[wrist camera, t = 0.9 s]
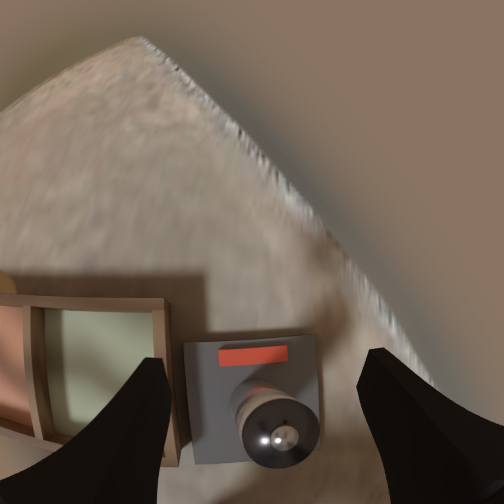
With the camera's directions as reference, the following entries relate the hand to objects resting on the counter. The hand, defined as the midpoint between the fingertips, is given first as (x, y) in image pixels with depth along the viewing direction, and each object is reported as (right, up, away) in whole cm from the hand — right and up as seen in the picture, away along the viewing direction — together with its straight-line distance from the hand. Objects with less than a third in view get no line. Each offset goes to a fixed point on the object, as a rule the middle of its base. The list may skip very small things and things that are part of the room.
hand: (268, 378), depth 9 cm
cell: (0, -7, +10) cm, 12 cm away
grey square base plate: (0, -7, +11) cm, 13 cm away
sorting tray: (-17, -6, +9) cm, 20 cm away
